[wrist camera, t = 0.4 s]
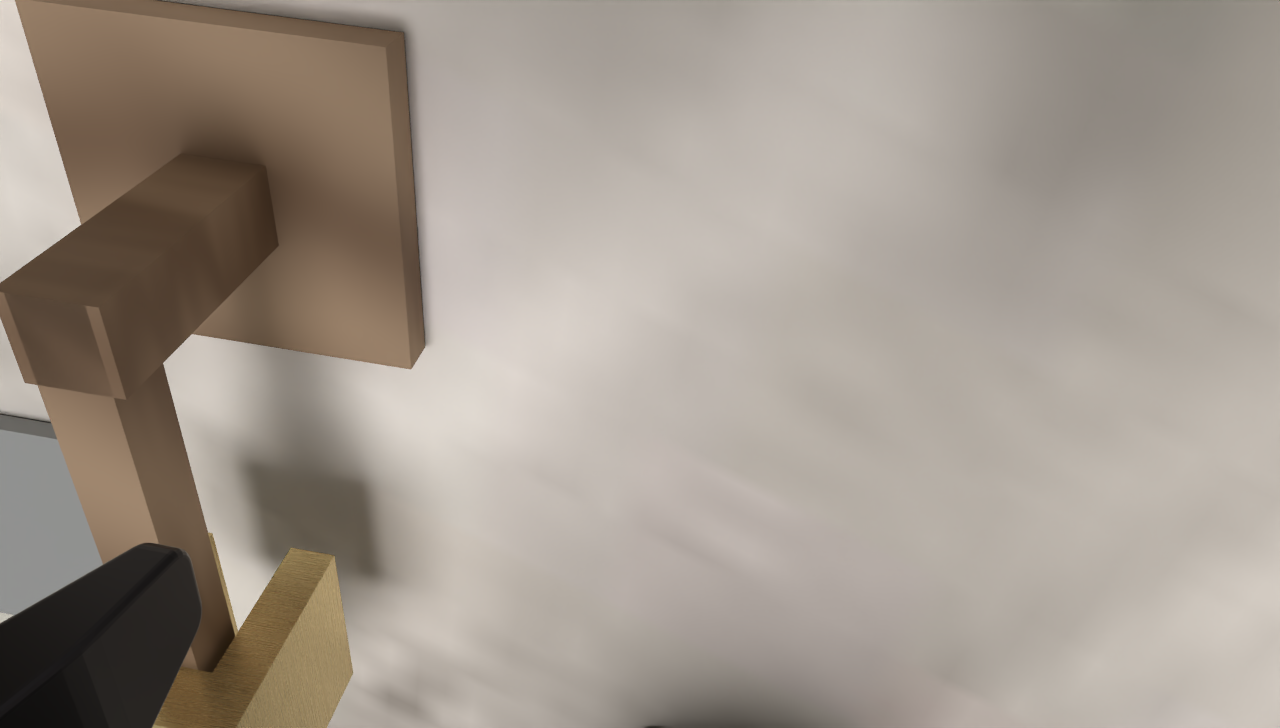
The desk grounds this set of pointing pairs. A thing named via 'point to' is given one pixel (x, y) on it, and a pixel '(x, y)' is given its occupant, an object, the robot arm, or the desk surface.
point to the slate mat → (38, 517)
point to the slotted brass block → (273, 656)
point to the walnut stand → (206, 236)
